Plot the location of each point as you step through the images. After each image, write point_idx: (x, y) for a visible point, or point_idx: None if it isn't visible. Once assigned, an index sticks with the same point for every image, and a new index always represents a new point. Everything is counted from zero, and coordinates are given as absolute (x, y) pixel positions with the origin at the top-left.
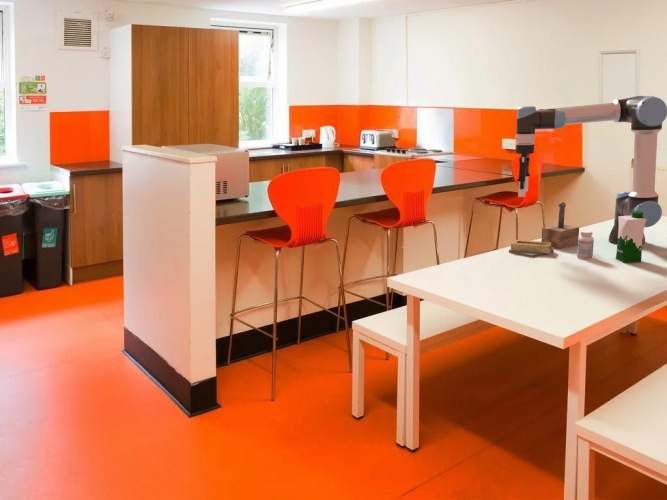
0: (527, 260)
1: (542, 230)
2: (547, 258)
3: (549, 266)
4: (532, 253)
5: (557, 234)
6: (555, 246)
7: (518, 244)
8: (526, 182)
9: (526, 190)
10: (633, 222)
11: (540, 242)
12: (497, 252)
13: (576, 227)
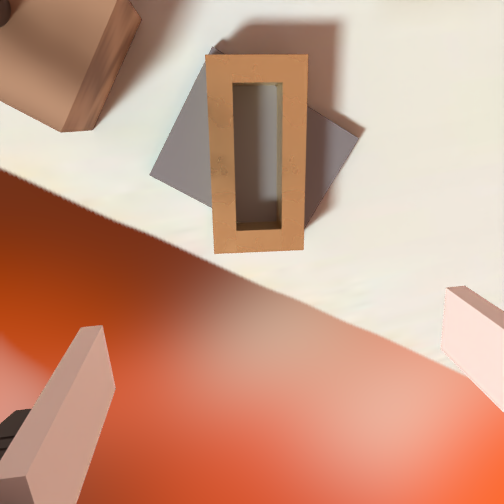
0: (405, 147)
1: (67, 129)
2: (348, 64)
3: (485, 37)
4: (323, 139)
5: (115, 24)
6: (127, 46)
7: (303, 215)
8: (69, 418)
9: (100, 345)
10: None
11: (229, 116)
12: (305, 286)
13: None
